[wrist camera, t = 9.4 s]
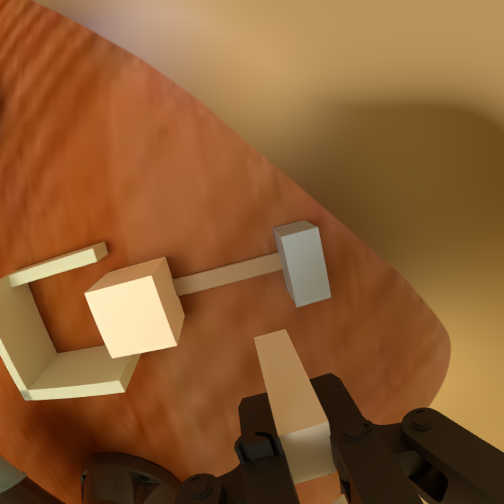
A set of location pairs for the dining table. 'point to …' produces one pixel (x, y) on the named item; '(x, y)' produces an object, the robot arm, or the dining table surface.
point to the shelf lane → (41, 347)
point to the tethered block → (167, 290)
